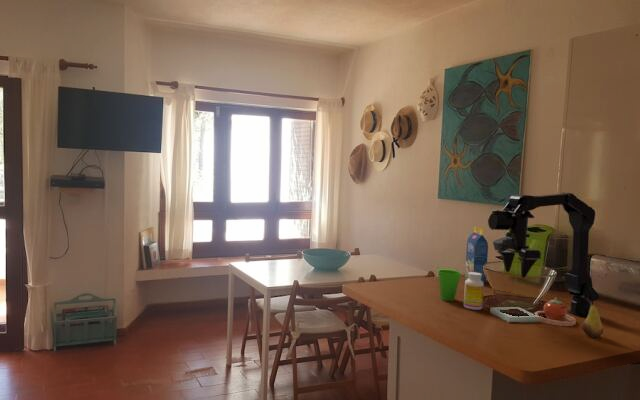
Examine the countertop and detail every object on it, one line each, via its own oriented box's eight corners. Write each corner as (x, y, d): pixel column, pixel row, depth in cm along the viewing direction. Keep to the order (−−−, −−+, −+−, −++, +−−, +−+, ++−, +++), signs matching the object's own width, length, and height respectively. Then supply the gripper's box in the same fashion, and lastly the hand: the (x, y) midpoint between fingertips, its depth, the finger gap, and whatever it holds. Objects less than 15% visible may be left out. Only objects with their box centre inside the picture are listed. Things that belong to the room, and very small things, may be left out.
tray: (518, 312, 174) (518, 307, 174) (539, 322, 163) (539, 316, 162) (490, 312, 171) (490, 307, 171) (508, 322, 160) (509, 317, 160)
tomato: (561, 325, 160) (562, 301, 160) (538, 319, 166) (540, 296, 166) (569, 321, 165) (571, 298, 165) (548, 315, 171) (549, 293, 171)
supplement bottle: (483, 311, 173) (485, 276, 172) (464, 309, 174) (466, 274, 174) (480, 306, 179) (483, 272, 179) (462, 304, 181) (464, 270, 180)
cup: (432, 295, 192) (434, 268, 191) (454, 296, 193) (456, 269, 192) (440, 302, 183) (442, 273, 182) (463, 302, 184) (465, 274, 183)
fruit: (594, 340, 146) (598, 301, 146) (578, 334, 151) (581, 296, 151) (607, 338, 148) (610, 300, 148) (590, 332, 154) (593, 295, 153)
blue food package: (472, 283, 219) (475, 229, 218) (464, 277, 231) (467, 226, 230) (485, 283, 219) (489, 229, 218) (477, 278, 231) (480, 226, 230)
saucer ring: (557, 314, 173) (558, 310, 173) (583, 325, 161) (583, 321, 161) (526, 314, 171) (527, 311, 171) (550, 326, 158) (551, 322, 158)
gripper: (483, 226, 175) (480, 268, 176) (513, 233, 157) (510, 280, 157) (510, 227, 177) (507, 269, 178) (543, 234, 159) (540, 280, 160)
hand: (515, 274), depth 168 cm, fingers open, 9 cm apart
